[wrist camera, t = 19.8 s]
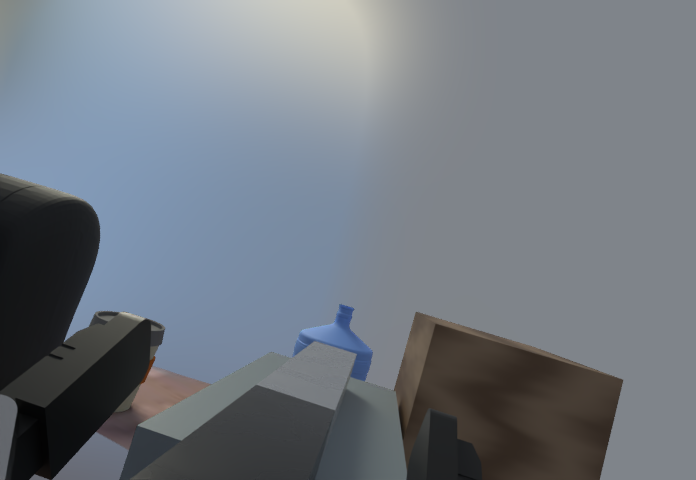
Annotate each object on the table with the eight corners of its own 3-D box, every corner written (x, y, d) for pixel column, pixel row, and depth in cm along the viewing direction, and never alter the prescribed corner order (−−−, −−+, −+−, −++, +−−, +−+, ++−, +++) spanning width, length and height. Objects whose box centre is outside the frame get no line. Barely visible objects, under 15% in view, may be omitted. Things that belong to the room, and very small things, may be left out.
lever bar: (70, 632, 8) (116, 488, 8) (304, 375, 32) (314, 340, 32) (237, 698, 7) (281, 548, 8) (346, 388, 31) (356, 353, 31)
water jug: (302, 423, 103) (338, 301, 106) (359, 455, 94) (397, 321, 96) (252, 430, 91) (294, 291, 93) (312, 467, 81) (357, 312, 84)
